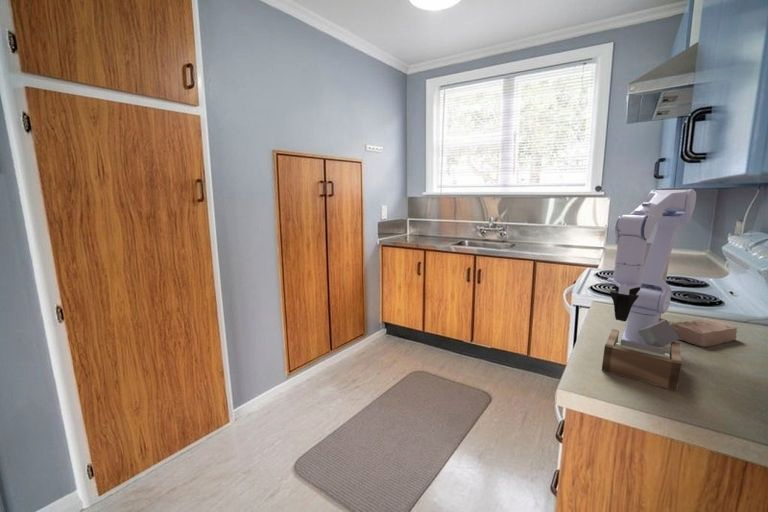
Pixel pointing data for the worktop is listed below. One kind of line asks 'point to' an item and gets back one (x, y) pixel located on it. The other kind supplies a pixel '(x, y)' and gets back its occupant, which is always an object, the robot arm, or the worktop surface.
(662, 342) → the grey cube
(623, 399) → the worktop surface
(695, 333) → the brick
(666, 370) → the frame
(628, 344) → the trapdoor
